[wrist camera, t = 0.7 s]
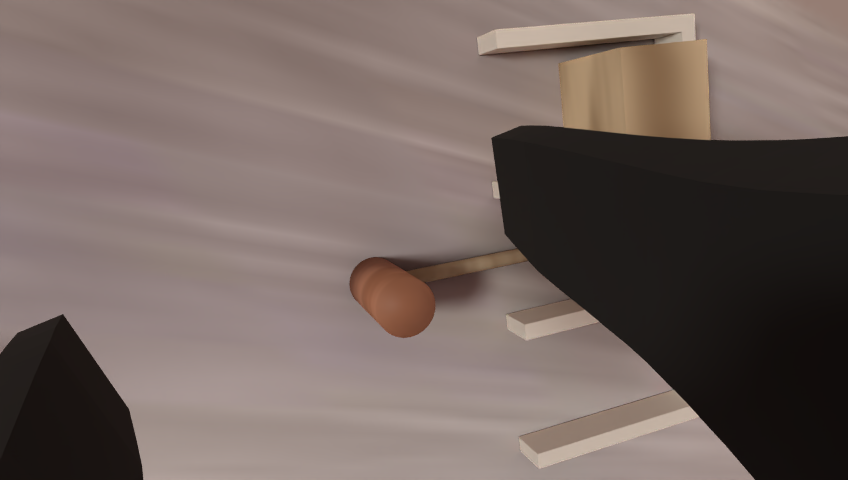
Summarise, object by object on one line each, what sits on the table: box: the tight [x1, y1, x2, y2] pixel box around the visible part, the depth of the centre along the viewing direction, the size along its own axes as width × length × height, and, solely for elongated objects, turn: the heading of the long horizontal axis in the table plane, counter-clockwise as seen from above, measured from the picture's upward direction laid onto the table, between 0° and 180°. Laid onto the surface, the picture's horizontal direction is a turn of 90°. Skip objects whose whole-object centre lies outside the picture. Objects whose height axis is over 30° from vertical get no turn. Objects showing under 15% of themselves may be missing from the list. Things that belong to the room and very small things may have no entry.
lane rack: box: [477, 13, 699, 469], centre depth 31 cm, size 11×21×2 cm, turn 8°
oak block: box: [559, 39, 711, 140], centre depth 29 cm, size 4×4×5 cm
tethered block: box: [350, 249, 528, 338], centre depth 28 cm, size 16×4×5 cm, turn 98°
